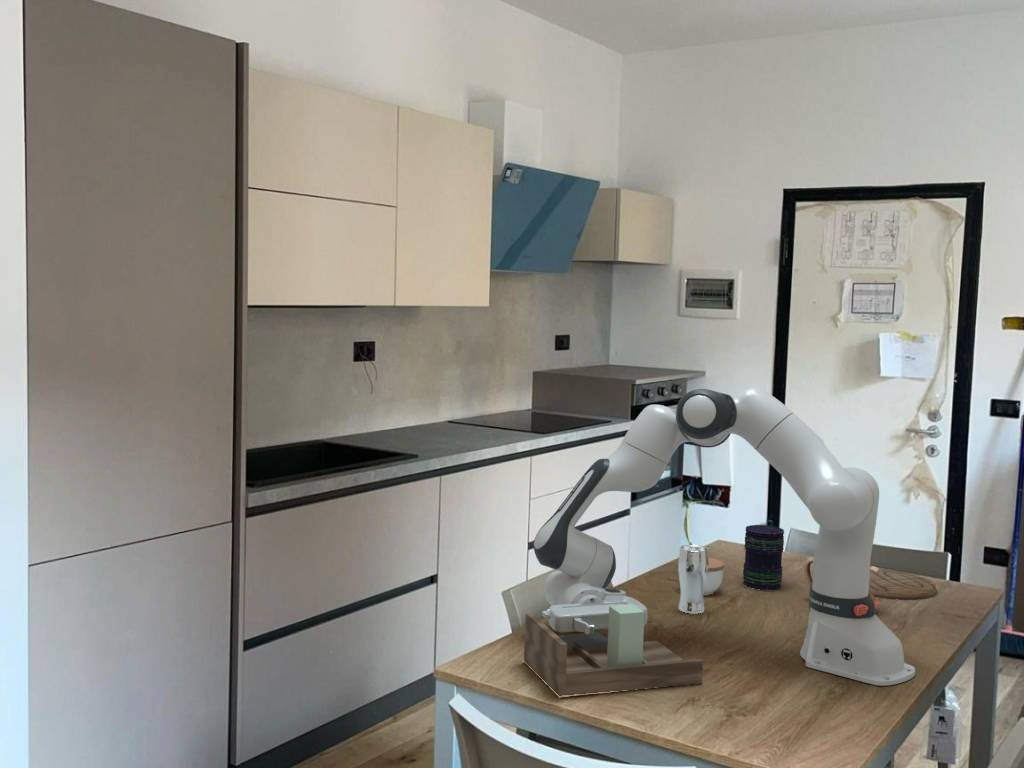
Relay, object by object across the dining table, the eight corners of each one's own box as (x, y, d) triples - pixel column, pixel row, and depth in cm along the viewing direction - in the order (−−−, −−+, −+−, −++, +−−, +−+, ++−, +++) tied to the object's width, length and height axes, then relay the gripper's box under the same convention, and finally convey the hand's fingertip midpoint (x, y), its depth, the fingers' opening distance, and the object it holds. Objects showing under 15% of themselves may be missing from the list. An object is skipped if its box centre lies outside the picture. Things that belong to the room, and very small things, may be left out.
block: (606, 667, 194) (609, 605, 193) (630, 664, 195) (633, 604, 194) (617, 676, 189) (620, 613, 188) (641, 674, 191) (644, 611, 190)
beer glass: (697, 616, 233) (700, 553, 232) (671, 610, 238) (673, 548, 236) (711, 610, 239) (714, 547, 238) (684, 604, 243) (687, 542, 242)
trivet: (872, 603, 250) (872, 596, 250) (816, 576, 274) (816, 569, 274) (957, 598, 256) (958, 591, 256) (895, 572, 280) (895, 566, 280)
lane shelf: (523, 662, 200) (525, 613, 200) (656, 650, 210) (658, 603, 209) (559, 698, 183) (561, 644, 182) (701, 683, 192) (704, 632, 191)
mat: (542, 638, 215) (542, 636, 215) (598, 633, 219) (598, 631, 219) (563, 657, 204) (563, 655, 204) (622, 652, 208) (622, 650, 208)
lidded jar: (692, 583, 262) (694, 548, 261) (730, 592, 255) (732, 555, 254) (671, 592, 253) (673, 555, 253) (709, 601, 247) (711, 563, 246)
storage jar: (734, 582, 264) (737, 526, 263) (764, 579, 268) (767, 523, 267) (758, 592, 255) (762, 534, 254) (789, 589, 259) (792, 532, 258)
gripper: (539, 596, 206) (564, 616, 193) (630, 589, 213) (660, 608, 200) (538, 626, 207) (563, 648, 194) (629, 618, 214) (659, 639, 200)
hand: (613, 628), depth 197 cm, fingers open, 8 cm apart
